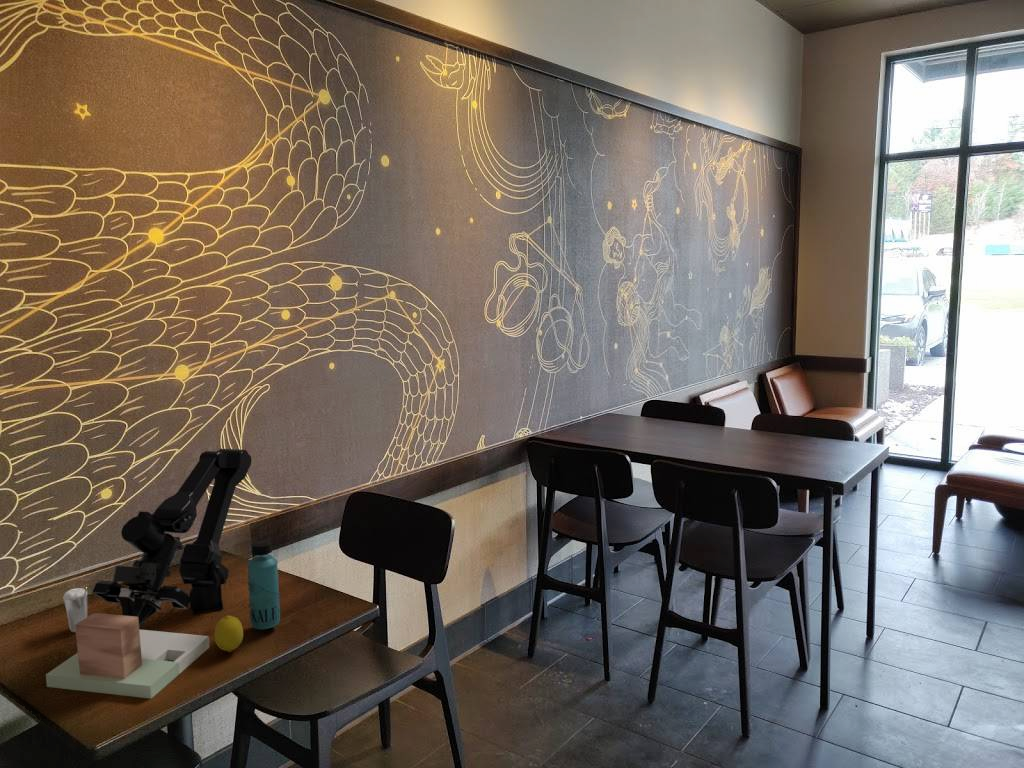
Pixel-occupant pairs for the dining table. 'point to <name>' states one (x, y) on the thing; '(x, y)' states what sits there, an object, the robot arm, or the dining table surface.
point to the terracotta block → (108, 645)
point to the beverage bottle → (263, 587)
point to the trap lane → (159, 667)
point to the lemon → (228, 633)
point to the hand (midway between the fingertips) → (124, 637)
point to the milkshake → (75, 606)
